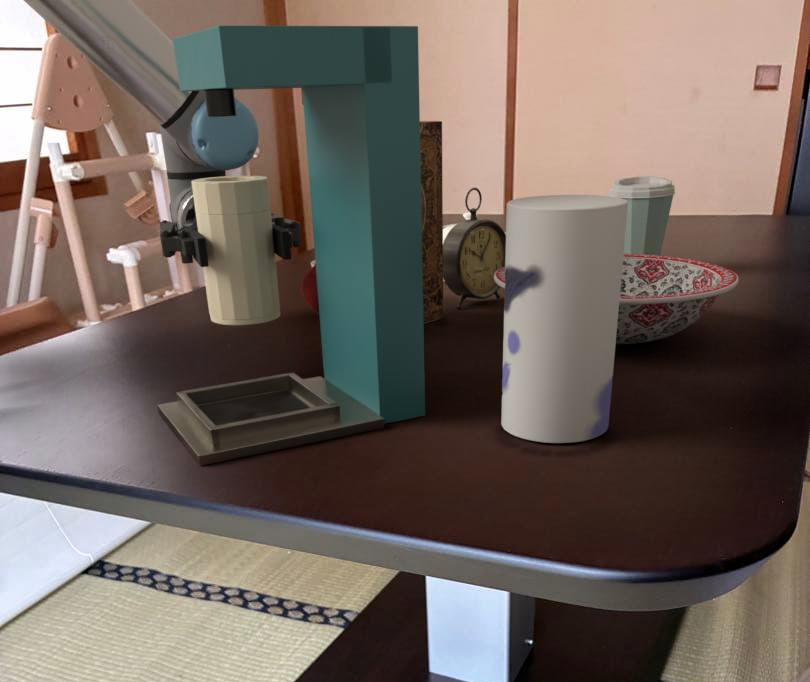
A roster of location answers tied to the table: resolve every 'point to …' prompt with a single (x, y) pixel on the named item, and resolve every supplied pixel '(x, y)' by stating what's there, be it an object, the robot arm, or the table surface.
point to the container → (561, 315)
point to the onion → (310, 289)
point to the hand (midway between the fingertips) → (245, 249)
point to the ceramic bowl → (662, 294)
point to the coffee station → (328, 233)
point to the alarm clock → (473, 256)
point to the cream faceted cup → (238, 249)
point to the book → (432, 219)
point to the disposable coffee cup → (645, 212)
